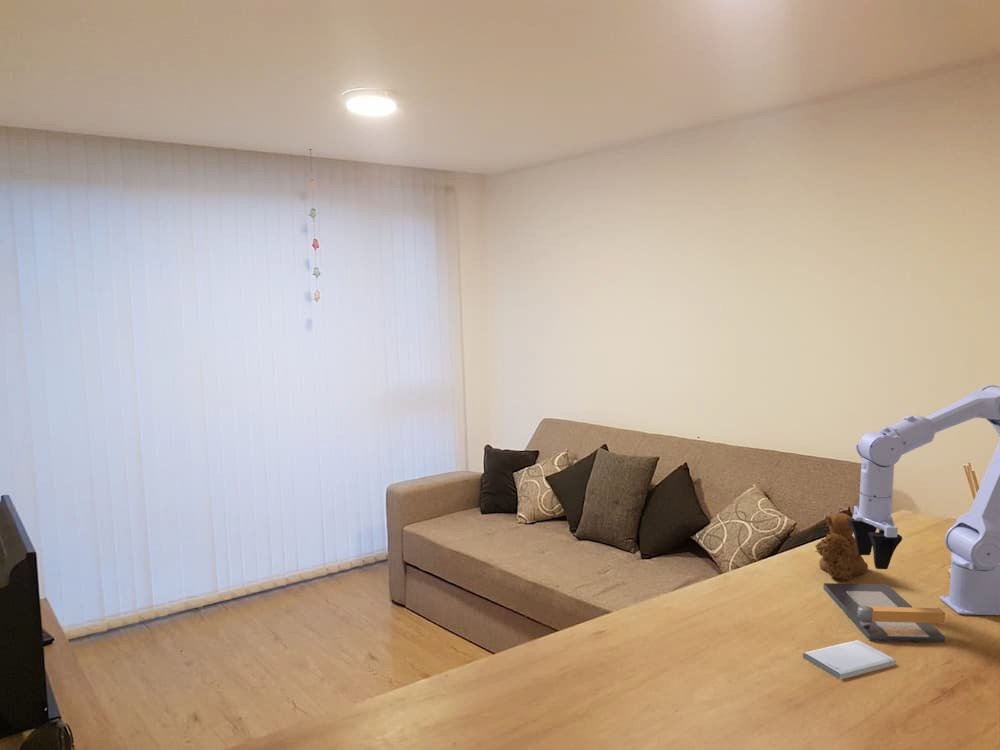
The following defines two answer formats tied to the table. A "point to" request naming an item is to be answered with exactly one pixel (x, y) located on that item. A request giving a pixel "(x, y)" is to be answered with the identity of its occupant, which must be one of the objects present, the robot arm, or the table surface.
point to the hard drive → (849, 659)
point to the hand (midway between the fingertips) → (872, 561)
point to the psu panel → (880, 596)
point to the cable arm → (900, 614)
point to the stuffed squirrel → (840, 549)
